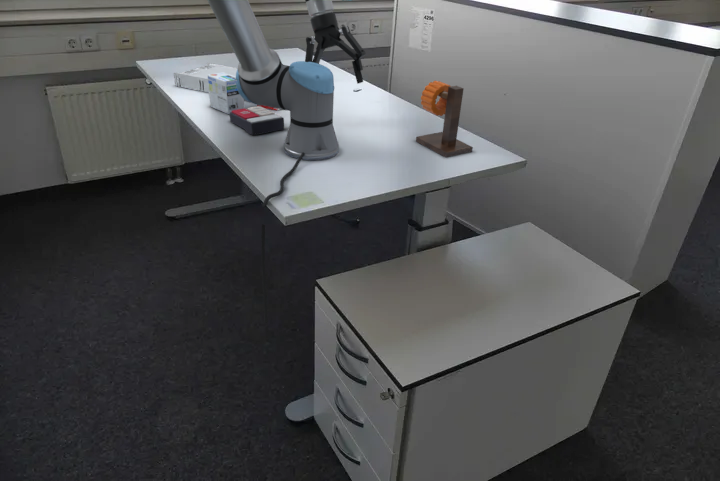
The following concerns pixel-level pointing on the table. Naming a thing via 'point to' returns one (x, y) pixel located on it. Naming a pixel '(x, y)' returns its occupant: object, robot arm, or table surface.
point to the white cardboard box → (201, 76)
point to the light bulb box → (224, 92)
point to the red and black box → (257, 120)
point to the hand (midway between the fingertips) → (340, 87)
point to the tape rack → (448, 127)
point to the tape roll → (434, 98)
